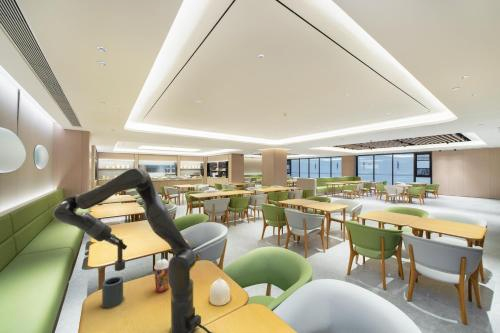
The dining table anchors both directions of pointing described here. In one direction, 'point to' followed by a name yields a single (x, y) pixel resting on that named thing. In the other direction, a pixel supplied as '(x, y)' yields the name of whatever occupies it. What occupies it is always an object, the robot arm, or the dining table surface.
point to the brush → (120, 260)
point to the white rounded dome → (219, 292)
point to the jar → (112, 292)
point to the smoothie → (161, 275)
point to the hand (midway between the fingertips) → (124, 247)
